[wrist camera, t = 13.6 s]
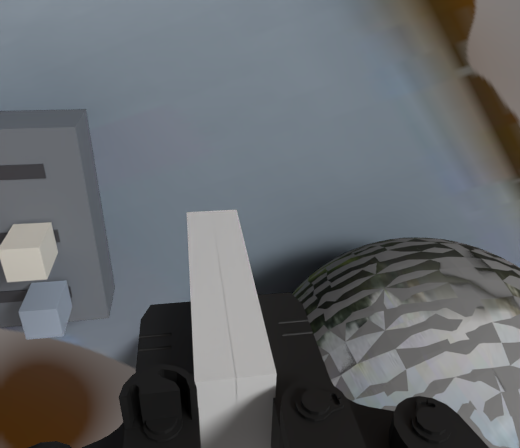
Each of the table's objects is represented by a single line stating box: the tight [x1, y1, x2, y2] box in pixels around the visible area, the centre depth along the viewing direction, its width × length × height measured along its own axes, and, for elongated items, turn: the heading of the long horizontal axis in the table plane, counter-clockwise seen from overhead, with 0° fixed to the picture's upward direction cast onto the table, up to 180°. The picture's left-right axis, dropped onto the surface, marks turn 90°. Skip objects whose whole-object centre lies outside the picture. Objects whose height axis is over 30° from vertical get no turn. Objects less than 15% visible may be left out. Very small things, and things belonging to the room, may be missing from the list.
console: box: [0, 109, 115, 327], centre depth 42 cm, size 19×16×5 cm
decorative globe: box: [292, 238, 520, 448], centre depth 43 cm, size 30×30×30 cm
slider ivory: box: [0, 222, 58, 282], centre depth 38 cm, size 3×3×4 cm
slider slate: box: [19, 280, 72, 339], centre depth 41 cm, size 3×3×4 cm
